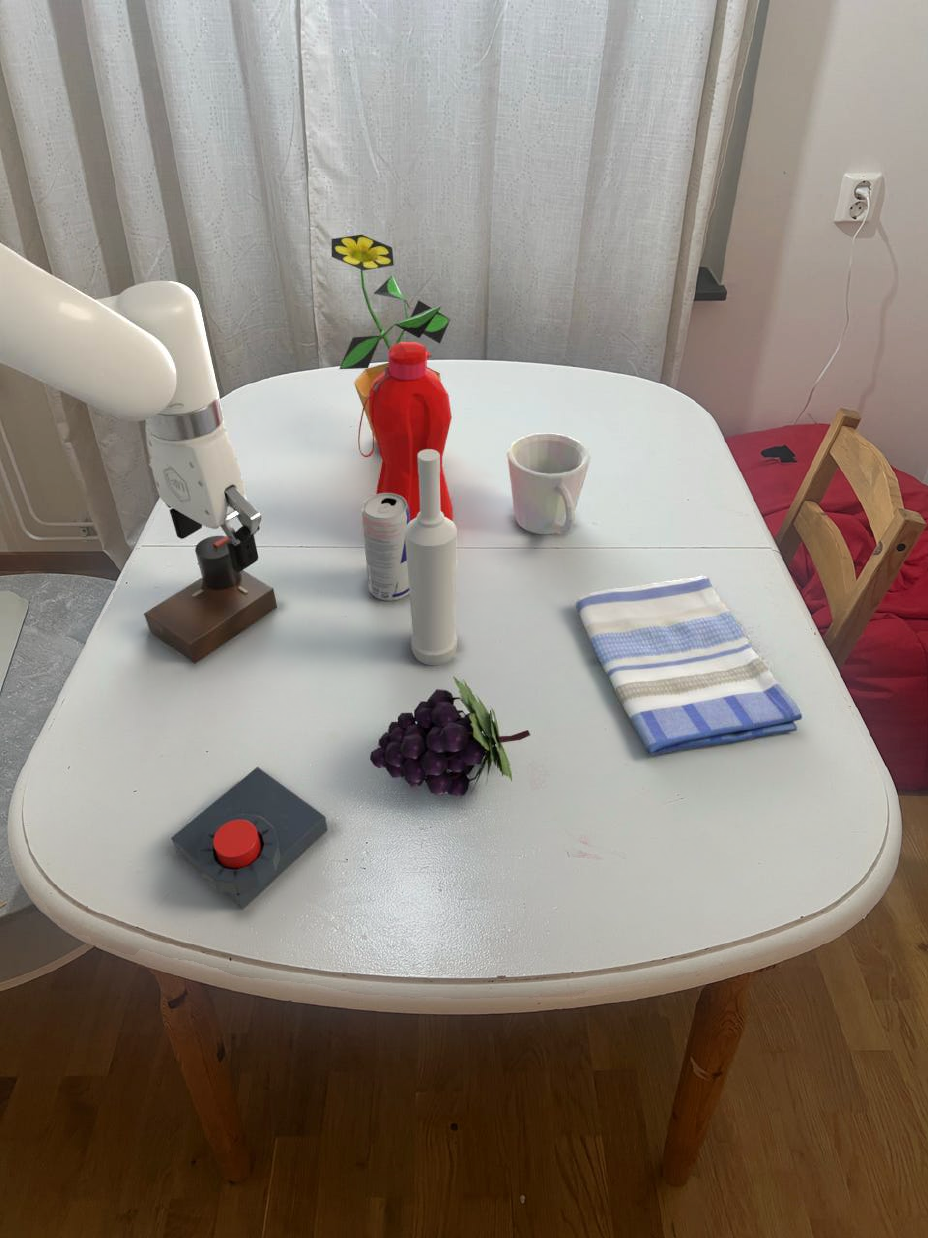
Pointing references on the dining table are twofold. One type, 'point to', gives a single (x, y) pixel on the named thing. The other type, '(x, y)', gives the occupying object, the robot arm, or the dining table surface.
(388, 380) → the water bottle
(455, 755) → the fruit
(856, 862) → the dining table surface
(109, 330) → the robot arm
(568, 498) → the mug
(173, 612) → the console
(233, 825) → the plunger
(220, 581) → the dial
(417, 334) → the potted plant
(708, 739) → the dish towel
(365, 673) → the dining table surface
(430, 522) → the bottle
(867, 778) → the dining table surface
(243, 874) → the button box
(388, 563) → the energy drink
